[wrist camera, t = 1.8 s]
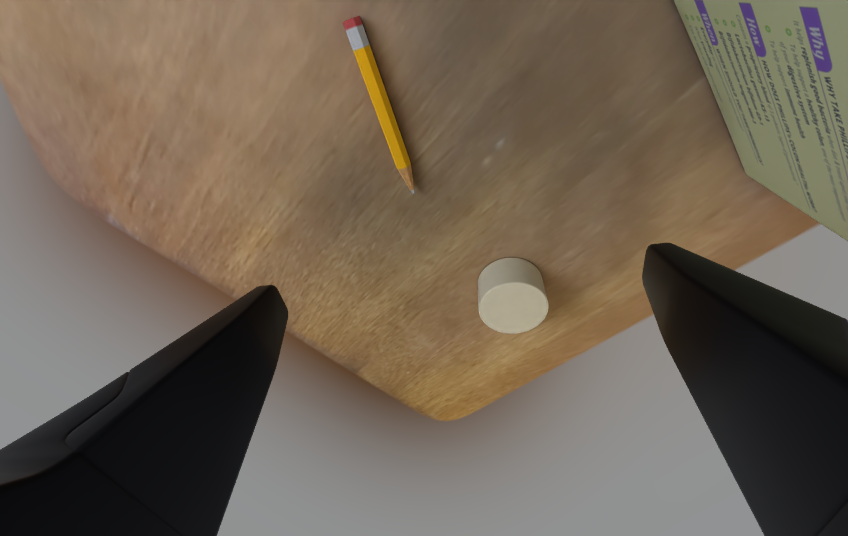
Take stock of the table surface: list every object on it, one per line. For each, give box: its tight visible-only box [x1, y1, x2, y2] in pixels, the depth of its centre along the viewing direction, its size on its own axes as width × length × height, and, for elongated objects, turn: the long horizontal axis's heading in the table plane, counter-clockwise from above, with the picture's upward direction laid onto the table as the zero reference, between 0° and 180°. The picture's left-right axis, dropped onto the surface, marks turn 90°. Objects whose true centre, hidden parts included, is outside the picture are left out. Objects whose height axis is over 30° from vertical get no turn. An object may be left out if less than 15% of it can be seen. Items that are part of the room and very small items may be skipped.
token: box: [478, 258, 549, 334], centre depth 24 cm, size 4×4×2 cm
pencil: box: [343, 16, 414, 194], centre depth 19 cm, size 1×9×1 cm, turn 18°
